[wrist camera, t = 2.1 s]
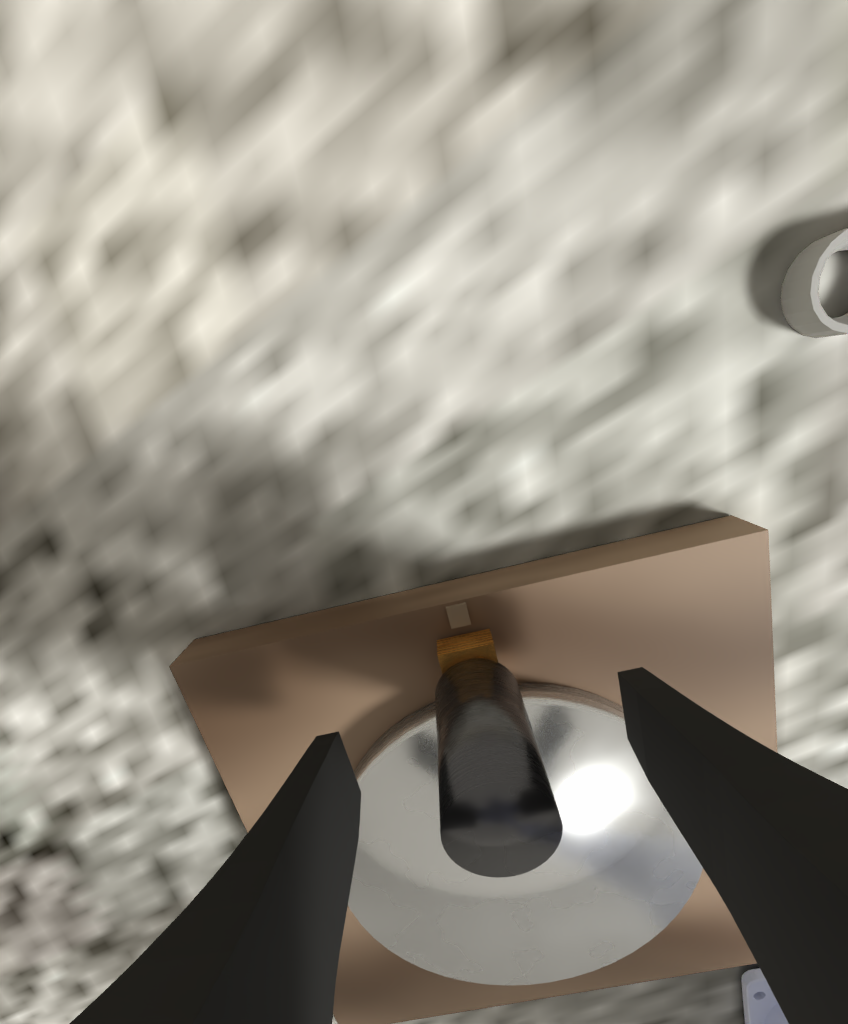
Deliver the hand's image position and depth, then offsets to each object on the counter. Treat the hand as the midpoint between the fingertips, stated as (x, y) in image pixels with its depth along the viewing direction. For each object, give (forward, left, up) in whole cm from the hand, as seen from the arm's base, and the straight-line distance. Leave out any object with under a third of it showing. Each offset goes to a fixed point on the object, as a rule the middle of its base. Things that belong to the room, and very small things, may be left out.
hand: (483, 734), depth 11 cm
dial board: (-7, 0, -4) cm, 8 cm away
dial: (-7, 0, -2) cm, 7 cm away
